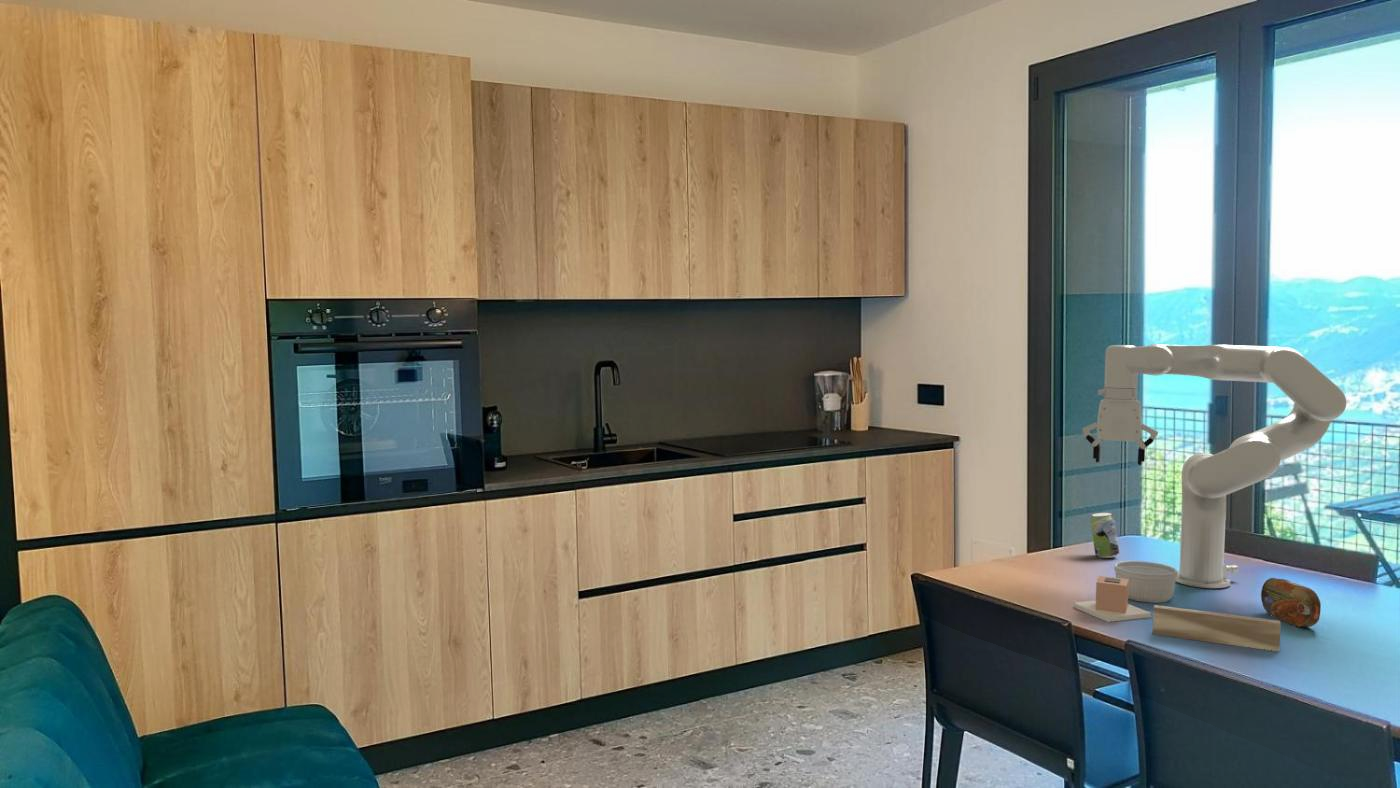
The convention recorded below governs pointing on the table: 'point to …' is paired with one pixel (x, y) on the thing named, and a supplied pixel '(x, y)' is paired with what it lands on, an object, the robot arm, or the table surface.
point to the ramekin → (1147, 580)
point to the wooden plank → (1217, 627)
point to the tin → (1291, 602)
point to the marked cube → (1112, 594)
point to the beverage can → (1104, 535)
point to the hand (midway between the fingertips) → (1118, 463)
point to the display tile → (1112, 616)
